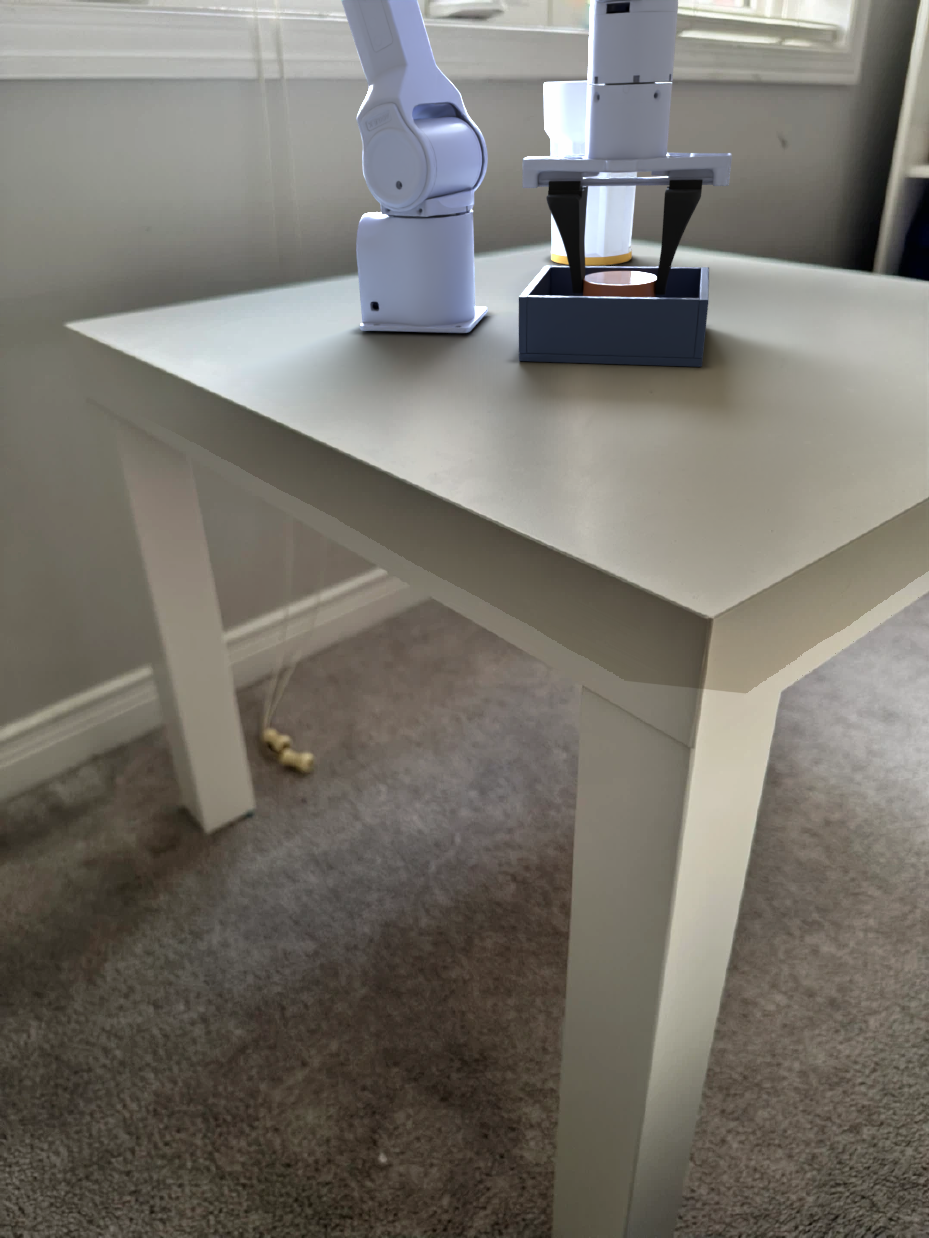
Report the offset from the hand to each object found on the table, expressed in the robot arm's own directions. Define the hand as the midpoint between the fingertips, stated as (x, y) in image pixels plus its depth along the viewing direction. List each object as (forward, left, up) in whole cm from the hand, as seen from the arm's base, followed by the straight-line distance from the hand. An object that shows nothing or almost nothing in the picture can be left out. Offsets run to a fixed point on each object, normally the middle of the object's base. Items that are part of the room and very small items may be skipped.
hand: (618, 291), depth 69 cm
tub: (0, 0, -4) cm, 4 cm away
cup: (-6, +37, -4) cm, 38 cm away
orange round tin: (0, 0, -2) cm, 2 cm away
